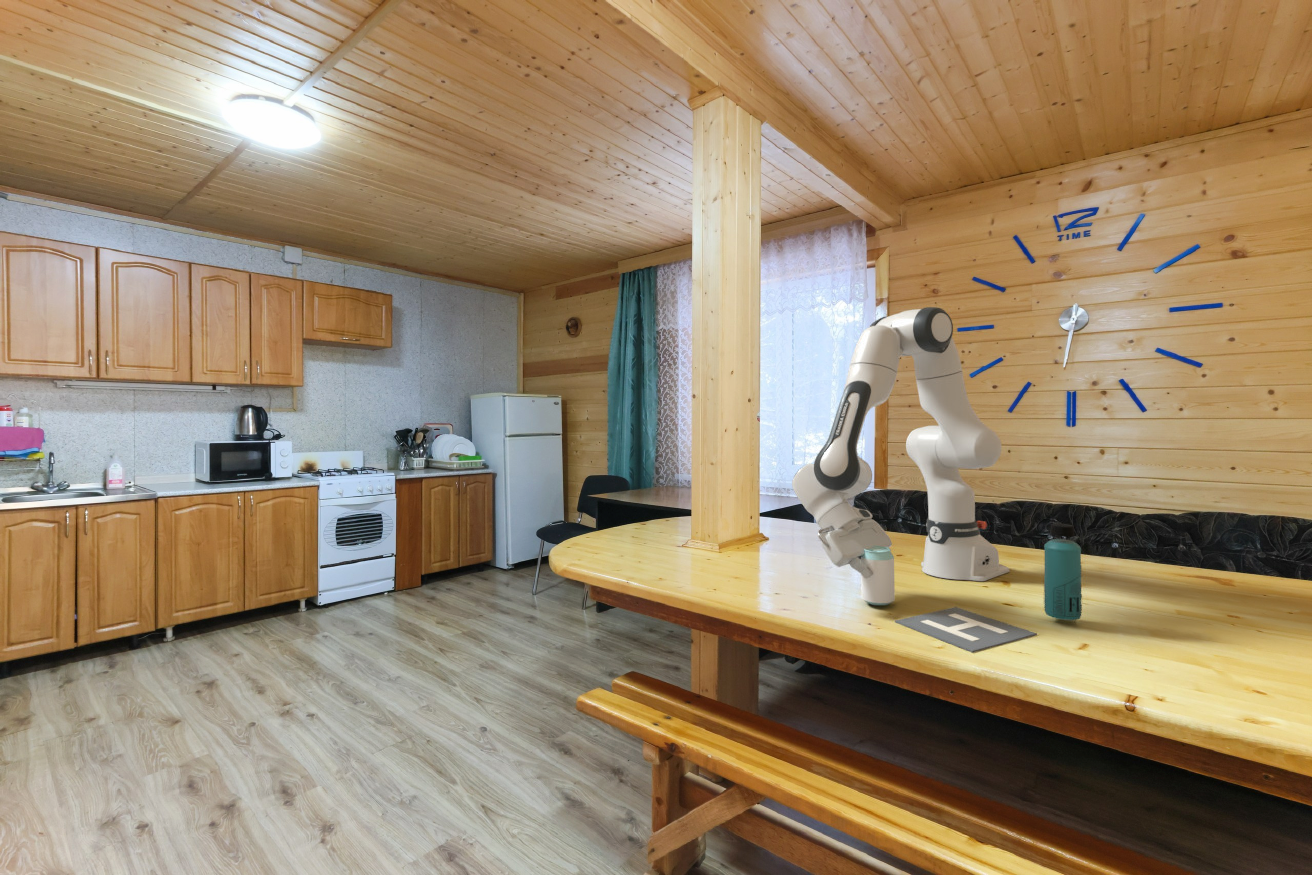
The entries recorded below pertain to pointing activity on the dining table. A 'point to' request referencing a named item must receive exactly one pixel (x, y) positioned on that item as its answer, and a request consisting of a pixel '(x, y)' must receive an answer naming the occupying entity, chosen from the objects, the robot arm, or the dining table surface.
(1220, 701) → the dining table surface
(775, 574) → the dining table surface
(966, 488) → the robot arm
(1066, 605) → the beverage bottle
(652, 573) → the dining table surface
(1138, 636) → the dining table surface
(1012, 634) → the letter mat
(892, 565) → the can
